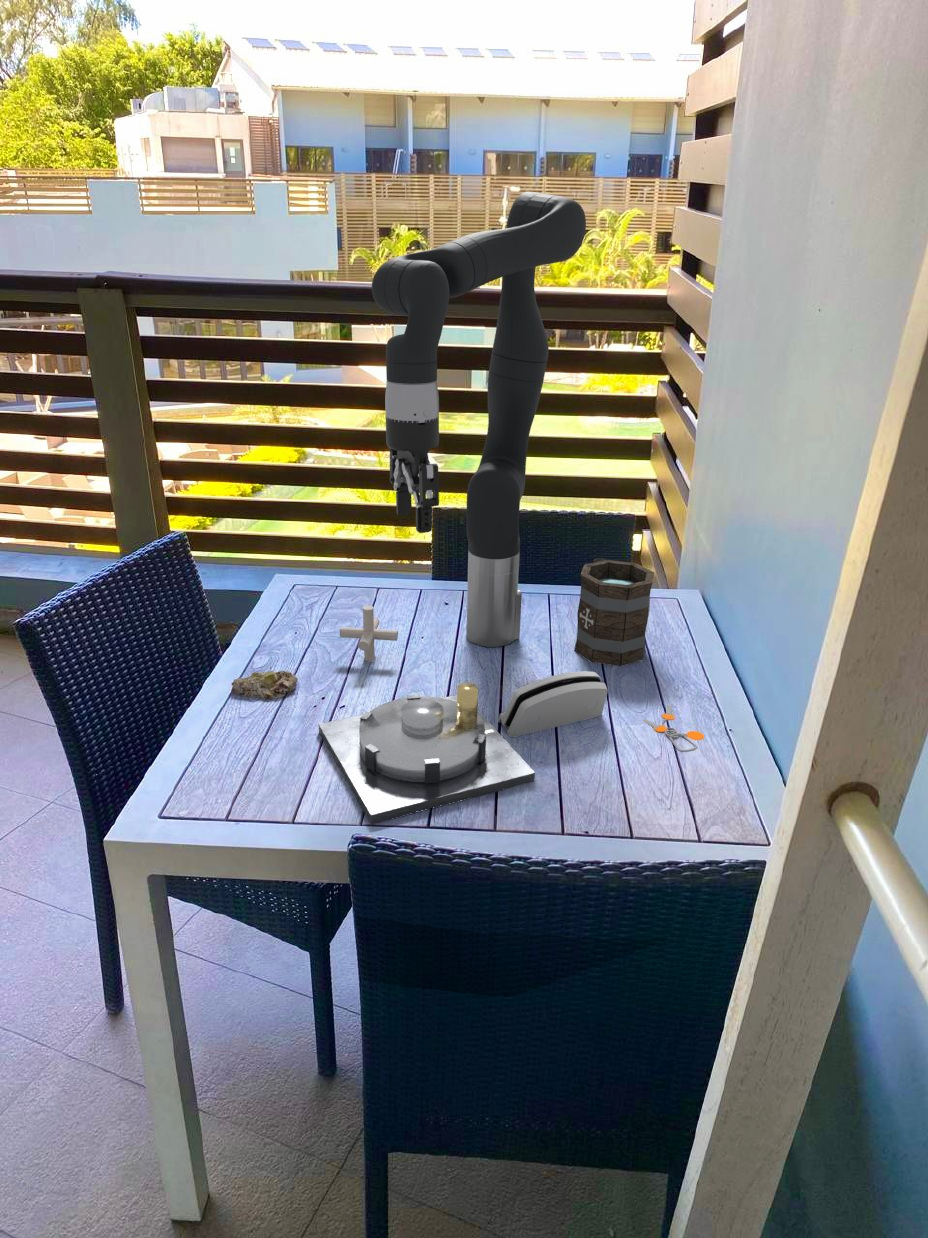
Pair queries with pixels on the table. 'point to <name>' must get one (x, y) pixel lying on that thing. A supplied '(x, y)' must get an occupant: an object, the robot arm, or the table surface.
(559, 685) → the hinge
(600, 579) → the mug
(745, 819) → the table surface
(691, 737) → the key chain
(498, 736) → the base plate
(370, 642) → the pipe connector
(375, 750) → the silver disc
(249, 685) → the mineral rock
